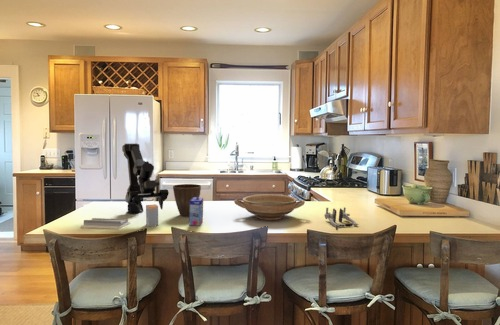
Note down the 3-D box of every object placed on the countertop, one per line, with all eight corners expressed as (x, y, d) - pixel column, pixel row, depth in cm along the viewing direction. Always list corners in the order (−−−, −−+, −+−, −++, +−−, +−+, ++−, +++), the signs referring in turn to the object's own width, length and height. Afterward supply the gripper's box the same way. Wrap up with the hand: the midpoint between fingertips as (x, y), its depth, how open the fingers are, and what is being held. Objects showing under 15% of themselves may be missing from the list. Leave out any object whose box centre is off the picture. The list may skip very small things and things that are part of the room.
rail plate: (94, 222, 181) (93, 216, 181) (130, 223, 178) (130, 217, 178) (80, 227, 170) (80, 221, 170) (119, 228, 167) (119, 222, 167)
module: (146, 224, 176) (145, 205, 175) (155, 223, 178) (155, 204, 177) (148, 226, 172) (148, 206, 171) (158, 225, 174) (158, 205, 173)
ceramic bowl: (231, 223, 180) (231, 202, 179) (237, 211, 208) (237, 193, 207) (306, 224, 177) (307, 203, 177) (302, 212, 206) (302, 194, 205)
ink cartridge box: (200, 226, 173) (200, 195, 172) (189, 226, 173) (188, 195, 172) (203, 221, 183) (203, 192, 182) (192, 221, 183) (192, 192, 182)
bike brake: (321, 218, 186) (336, 235, 167) (322, 206, 184) (337, 221, 165) (346, 218, 188) (364, 234, 169) (347, 205, 187) (365, 220, 167)
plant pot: (206, 215, 198) (206, 185, 197) (184, 219, 187) (184, 188, 186) (189, 211, 208) (189, 183, 207) (167, 215, 197) (167, 185, 196)
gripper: (128, 175, 172) (135, 201, 164) (167, 173, 182) (175, 198, 173) (125, 189, 179) (131, 215, 171) (162, 187, 189) (169, 211, 180)
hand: (152, 209), depth 174 cm, fingers open, 9 cm apart
